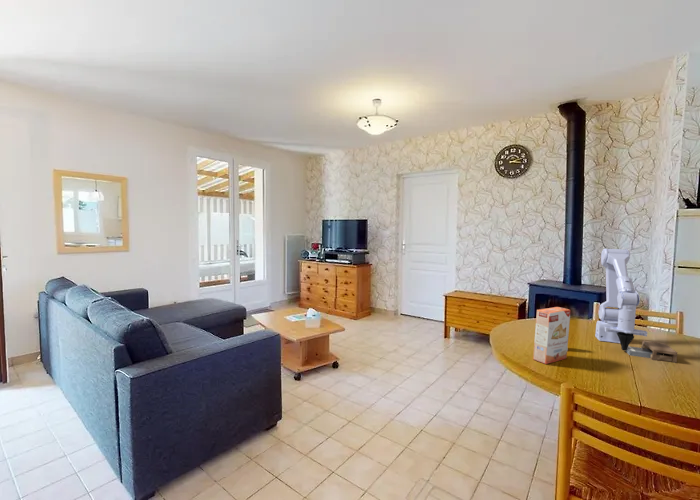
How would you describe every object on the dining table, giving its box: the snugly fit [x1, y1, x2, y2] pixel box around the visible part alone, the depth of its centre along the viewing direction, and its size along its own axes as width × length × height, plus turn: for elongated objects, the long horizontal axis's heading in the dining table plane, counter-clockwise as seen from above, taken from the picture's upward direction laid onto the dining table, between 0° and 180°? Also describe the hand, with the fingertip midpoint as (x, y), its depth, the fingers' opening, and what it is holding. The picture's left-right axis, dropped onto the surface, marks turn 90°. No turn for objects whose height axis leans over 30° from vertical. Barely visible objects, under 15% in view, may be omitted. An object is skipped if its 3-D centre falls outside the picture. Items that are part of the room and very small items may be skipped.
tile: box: [625, 345, 663, 359], centre depth 147 cm, size 11×7×2 cm, turn 66°
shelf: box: [640, 340, 678, 364], centre depth 145 cm, size 8×12×4 cm, turn 157°
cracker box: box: [532, 306, 572, 365], centre depth 140 cm, size 14×6×21 cm, turn 117°
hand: (623, 349), depth 150 cm, fingers closed
